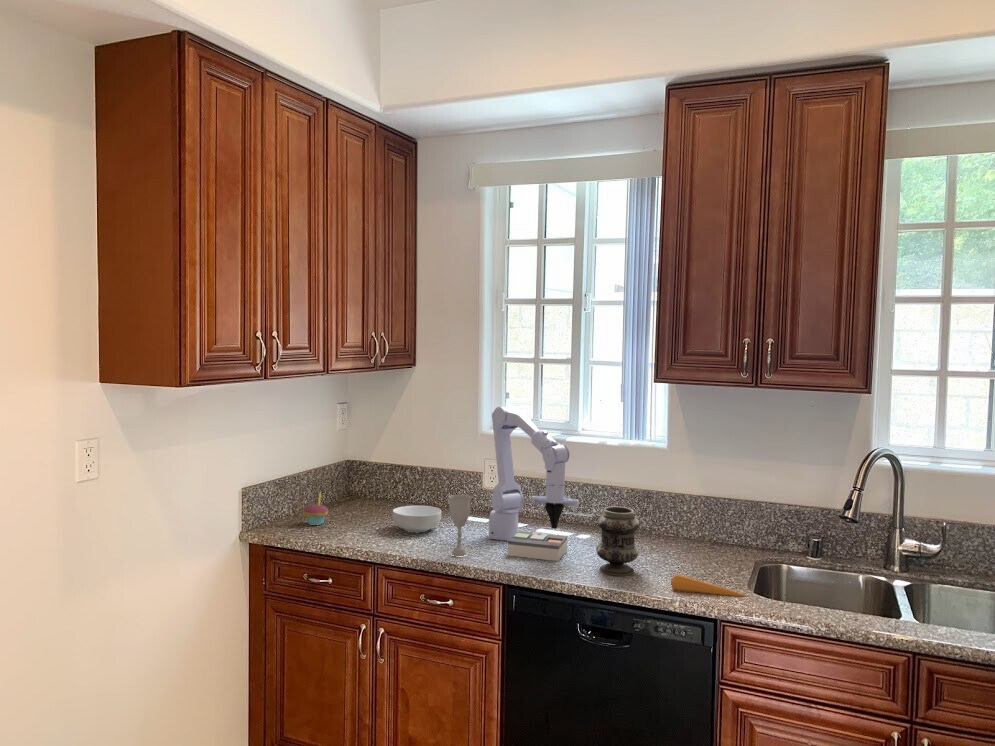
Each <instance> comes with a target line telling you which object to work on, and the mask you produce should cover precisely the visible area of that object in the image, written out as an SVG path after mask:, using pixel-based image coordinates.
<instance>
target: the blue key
mask: <svg viewBox="0 0 995 746" xmlns="http://www.w3.org/2000/svg"><path fill="white" fill-rule="evenodd" d="M545 539H546V536H542V535H532V536H531V537H530V540H536V541H544V540H545Z"/></svg>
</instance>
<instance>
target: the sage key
mask: <svg viewBox="0 0 995 746" xmlns="http://www.w3.org/2000/svg"><path fill="white" fill-rule="evenodd" d="M529 537H530V534H523V533H517V534H516V535H515V536H514V538H517V539H528V538H529Z"/></svg>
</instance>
